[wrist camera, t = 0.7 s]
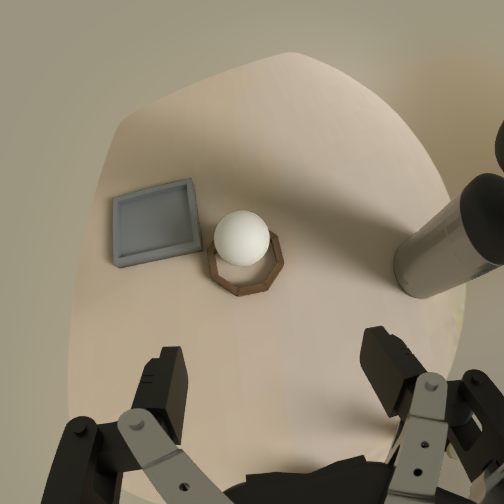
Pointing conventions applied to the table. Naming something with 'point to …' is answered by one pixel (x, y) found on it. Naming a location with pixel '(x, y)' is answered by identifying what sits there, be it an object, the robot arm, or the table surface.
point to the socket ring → (253, 288)
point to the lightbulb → (241, 238)
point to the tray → (156, 224)
